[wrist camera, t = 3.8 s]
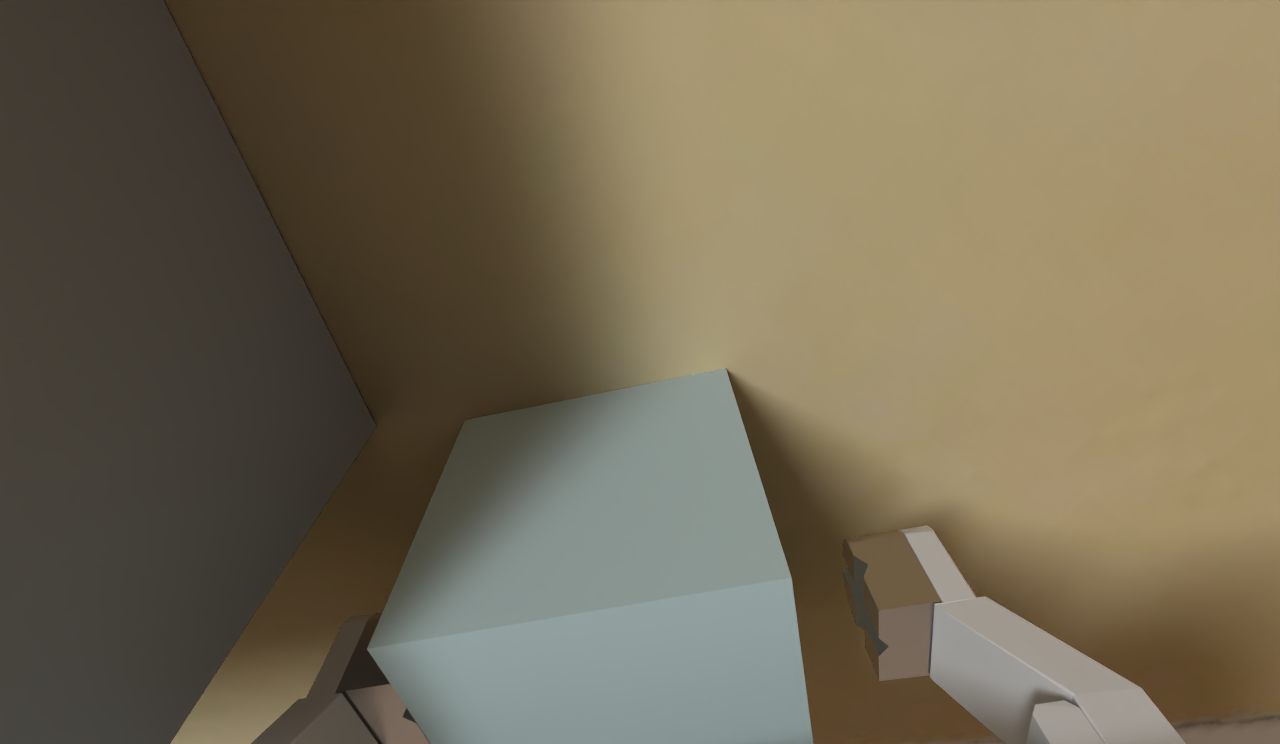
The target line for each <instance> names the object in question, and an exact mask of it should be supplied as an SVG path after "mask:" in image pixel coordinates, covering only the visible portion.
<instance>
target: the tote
mask: <svg viewBox="0 0 1280 744" xmlns="http://www.w3.org/2000/svg"><path fill="white" fill-rule="evenodd" d="M375 428H376V425H375V423H374V421H373V419H372V417H371V415H370V413H369V411H368V409H367V407H366V405H365V403H364V401H363V399H362V397H361V395H360V393H359V391H358V389H357V387H356V385H355V383H354V381H353V379H352V377H351V375H350V373H349V371H348V369H347V367H346V365H345V363H344V361H343V359H342V357H341V355H340V353H339V351H338V349H337V347H336V345H335V343H334V341H333V339H332V337H331V335H330V333H329V331H328V329H327V327H326V325H325V323H324V321H323V319H322V317H321V315H320V313H319V311H318V309H317V307H316V305H315V303H314V301H313V299H312V297H311V295H310V293H309V291H308V289H307V287H306V285H305V283H304V281H303V279H302V277H301V275H300V273H299V271H298V269H297V267H296V265H295V263H294V261H293V259H292V257H291V255H290V253H289V251H288V249H287V247H286V245H285V243H284V241H283V239H282V237H281V235H280V233H279V231H278V229H277V227H276V225H275V223H274V221H273V219H272V217H271V215H270V213H269V211H268V209H267V207H266V205H265V203H264V201H263V199H262V197H261V195H260V193H259V191H258V189H257V187H256V185H255V183H254V181H253V179H252V177H251V175H250V173H249V171H248V169H247V167H246V165H245V163H244V161H243V159H242V157H241V155H240V153H239V151H238V149H237V147H236V145H235V143H234V141H233V139H232V137H231V135H230V133H229V130H228V128H227V126H226V124H225V122H224V120H223V118H222V116H221V114H220V112H219V110H218V108H217V106H216V104H215V102H214V100H213V98H212V96H211V94H210V92H209V90H208V88H207V86H206V84H205V82H204V80H203V78H202V76H201V74H200V72H199V70H198V68H197V66H196V64H195V62H194V60H193V58H192V56H191V54H190V52H189V50H188V48H187V46H186V44H185V42H184V40H183V38H182V36H181V34H180V32H179V30H178V28H177V26H176V24H175V22H174V20H173V18H172V16H171V14H170V12H169V10H168V8H167V6H166V4H165V2H164V0H0V744H170V743H171V741H172V740H173V738H174V737H175V735H176V734H177V732H178V731H179V729H180V728H181V726H182V724H183V723H184V721H185V720H186V718H187V717H188V715H189V714H190V712H191V711H192V709H193V708H194V706H195V705H196V703H197V701H198V700H199V698H200V697H201V695H202V694H203V692H204V691H205V689H206V688H207V686H208V685H209V683H210V681H211V680H212V678H213V677H214V675H215V674H216V672H217V671H218V669H219V668H220V666H221V665H222V663H223V661H224V660H225V658H226V657H227V655H228V654H229V652H230V651H231V649H232V648H233V646H234V645H235V643H236V641H237V640H238V638H239V637H240V635H241V634H242V632H243V631H244V629H245V628H246V626H247V625H248V623H249V621H250V620H251V618H252V617H253V615H254V614H255V612H256V611H257V609H258V608H259V606H260V605H261V603H262V601H263V600H264V598H265V597H266V595H267V594H268V592H269V591H270V589H271V588H272V586H273V585H274V583H275V581H276V580H277V578H278V577H279V575H280V574H281V572H282V571H283V569H284V568H285V566H286V565H287V563H288V561H289V560H290V558H291V557H292V555H293V554H294V552H295V551H296V549H297V548H298V546H299V545H300V543H301V541H302V540H303V538H304V537H305V535H306V534H307V532H308V531H309V529H310V528H311V526H312V525H313V523H314V521H315V520H316V518H317V517H318V515H319V514H320V512H321V511H322V509H323V508H324V506H325V505H326V503H327V501H328V500H329V498H330V497H331V495H332V494H333V492H334V491H335V489H336V488H337V486H338V485H339V483H340V481H341V480H342V478H343V477H344V475H345V474H346V472H347V471H348V469H349V468H350V466H351V465H352V463H353V461H354V460H355V458H356V457H357V455H358V454H359V452H360V451H361V449H362V448H363V446H364V445H365V443H366V442H367V440H368V438H369V437H370V435H371V434H372V432H373V431H374V429H375Z"/></svg>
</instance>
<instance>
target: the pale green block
mask: <svg viewBox="0 0 1280 744" xmlns="http://www.w3.org/2000/svg"><path fill="white" fill-rule="evenodd" d="M367 650H368V651H369V653H370V654H371V656H372V657H373V659H374V660H375V662H376V663H377V665H378V666H379V668H380V669H381V671H382V672H383V674H384V675H385V677H386V678H387V680H388V681H389V682H390V684H391V685H392V687H393V688H394V690H395V691H396V693H397V694H398V696H399V697H400V699H401V700H402V702H403V703H404V705H405V706H406V708H407V709H408V711H409V712H410V713H411V715H412V716H413V718H414V719H415V721H416V722H417V724H418V725H419V727H420V728H421V730H422V731H423V733H424V734H425V736H426V737H427V739H428V740H429V742H430V743H431V744H813V737H812V729H811V722H810V714H809V707H808V699H807V691H806V684H805V676H804V669H803V661H802V653H801V646H800V638H799V631H798V623H797V615H796V608H795V600H794V593H793V585H792V578H791V574H790V571H789V568H788V565H787V562H786V558H785V555H784V552H783V549H782V546H781V543H780V539H779V536H778V533H777V530H776V527H775V523H774V520H773V517H772V514H771V511H770V508H769V504H768V501H767V498H766V495H765V492H764V488H763V485H762V482H761V479H760V476H759V472H758V469H757V466H756V463H755V460H754V457H753V453H752V450H751V447H750V444H749V441H748V437H747V434H746V431H745V428H744V425H743V421H742V418H741V415H740V412H739V409H738V406H737V402H736V399H735V396H734V393H733V390H732V386H731V383H730V380H729V377H728V374H727V371H726V368H724V369H719V370H714V371H709V372H704V373H699V374H694V375H689V376H684V377H679V378H674V379H669V380H664V381H659V382H654V383H649V384H644V385H639V386H634V387H629V388H624V389H619V390H614V391H609V392H604V393H599V394H594V395H589V396H584V397H579V398H574V399H569V400H564V401H559V402H553V403H548V404H543V405H538V406H533V407H528V408H523V409H518V410H513V411H508V412H503V413H498V414H493V415H488V416H483V417H478V418H473V419H468V420H465V421H464V423H463V425H462V428H461V430H460V432H459V435H458V437H457V439H456V442H455V444H454V446H453V449H452V451H451V453H450V456H449V458H448V460H447V463H446V465H445V467H444V470H443V472H442V474H441V477H440V479H439V481H438V484H437V486H436V488H435V491H434V493H433V495H432V498H431V500H430V502H429V505H428V507H427V510H426V512H425V514H424V517H423V519H422V521H421V524H420V526H419V528H418V531H417V533H416V535H415V538H414V540H413V542H412V545H411V547H410V549H409V552H408V554H407V556H406V559H405V561H404V563H403V566H402V568H401V570H400V573H399V575H398V577H397V580H396V582H395V584H394V587H393V589H392V592H391V594H390V596H389V599H388V601H387V603H386V606H385V608H384V610H383V613H382V615H381V617H380V620H379V622H378V624H377V627H376V629H375V631H374V634H373V636H372V638H371V641H370V643H369V645H368V648H367Z"/></svg>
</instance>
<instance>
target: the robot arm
mask: <svg viewBox="0 0 1280 744" xmlns="http://www.w3.org/2000/svg"><path fill="white" fill-rule="evenodd" d="M842 547H843V556H844V559H845V561H846V564H847V566H848V567H847V568H846V569H845V571H844V583H845V589H846V594H847V599H848V603H849V606H850V609H851V612H852V615H853V617H854V620H855V622H856V625H858V626H859V627H861V628H862V629H863V630H864V631H865V648H866V650H867V652H868V655H869V657H870V660H871V662H872V665H873V667H874V670H875V672H876V674H877V677H878V679H879V681H885V680H894V679H902V678H911V677H920V676H929V675H930V679H932V680H933V681H934V682H935V683H936V684H937V685H938V686H940V687H941V688H942V689H943V690H944V691H945V692H946V693H948V694H949V695H950V696H951V697H952V698H953V699H954V700H956V701H957V702H958V703H959V704H960V705H961V706H962V707H964V708H965V709H966V710H967V711H968V712H969V713H970V714H972V715H973V716H974V717H975V718H976V719H977V720H978V721H980V722H981V723H982V724H983V725H984V726H985V727H987V728H988V729H989V730H990V731H991V732H992V733H993V734H995V735H996V736H997V737H998V738H999V739H1000V740H1001V741H1003V742H1004V743H1005V744H1186V743H1185V742H1184V740H1183V739H1182V738H1181V737H1180V735H1179V734H1178V733H1177V732H1176V730H1175V729H1174V728H1173V727H1172V725H1171V724H1170V723H1169V722H1168V720H1167V719H1166V718H1165V717H1164V716H1163V714H1162V713H1161V712H1160V711H1159V709H1158V708H1157V707H1156V706H1155V704H1154V703H1153V702H1152V701H1151V699H1150V698H1149V697H1148V696H1147V694H1146V693H1145V692H1144V691H1143V689H1142V688H1141V687H1139V686H1137V685H1136V684H1134V683H1132V682H1130V681H1129V680H1127V679H1125V678H1124V677H1122V676H1120V675H1119V674H1117V673H1115V672H1113V671H1112V670H1110V669H1108V668H1107V667H1105V666H1103V665H1102V664H1100V663H1098V662H1096V661H1095V660H1093V659H1091V658H1090V657H1088V656H1086V655H1085V654H1083V653H1081V652H1079V651H1078V650H1076V649H1074V648H1073V647H1071V646H1069V645H1068V644H1066V643H1064V642H1062V641H1061V640H1059V639H1057V638H1056V637H1054V636H1052V635H1051V634H1049V633H1047V632H1046V631H1044V630H1042V629H1040V628H1039V627H1037V626H1035V625H1034V624H1032V623H1030V622H1029V621H1027V620H1025V619H1023V618H1022V617H1020V616H1018V615H1017V614H1015V613H1013V612H1012V611H1010V610H1008V609H1006V608H1005V607H1003V606H1001V605H1000V604H998V603H996V602H995V601H993V600H991V599H989V598H988V597H986V596H984V597H976V595H975V594H974V592H973V591H972V589H971V588H970V586H969V585H968V583H967V581H966V580H965V578H964V577H963V575H962V574H961V572H960V571H959V569H958V567H957V566H956V564H955V563H954V561H953V560H952V558H951V557H950V555H949V554H948V552H947V550H946V549H945V547H944V546H943V544H942V543H941V541H940V540H939V538H938V537H937V535H936V533H935V532H934V530H933V529H932V528H930V527H929V526H928V525H926V526H920V527H914V528H908V529H902V530H899V531H897V530H895V531H889V532H883V533H877V534H872V535H866V536H860V537H854V538H848V539H844V540H843V544H842ZM381 615H382V613H376V614H371V615H364V616H357V617H350V618H349V619H348V620H347V621H346V622H345V623H343V625H342V626H341V628H340V630H339V633H338V635H337V637H336V639H335V641H334V643H333V645H332V647H331V649H330V651H329V653H328V655H327V657H326V659H325V661H324V663H323V665H322V667H321V669H320V671H319V673H318V675H317V677H316V679H315V681H314V683H313V685H312V687H311V689H310V691H309V693H308V695H307V697H306V698H304V699H299V700H297V701H296V702H295V703H294V704H293V705H292V706H291V707H290V708H289V709H288V710H287V711H286V712H285V713H283V714H282V715H281V716H280V717H279V718H278V719H277V720H276V721H275V722H274V723H273V724H272V725H271V726H269V727H268V728H267V729H266V730H265V731H264V732H263V733H262V734H261V735H260V736H259V737H258V738H257V739H256V740H254V741H253V742H252V743H251V744H431V743H430V742H429V740H428V739H427V737H426V736H425V734H424V733H423V731H422V730H421V728H420V727H419V725H418V724H417V722H416V721H415V719H414V718H413V716H412V715H411V713H410V712H409V711H408V709H407V708H406V706H405V705H404V703H403V702H402V700H401V699H400V697H399V696H398V694H397V693H396V691H395V690H394V688H393V687H392V685H391V684H390V682H389V681H388V680H387V678H386V677H385V675H384V674H383V672H382V671H381V669H380V668H379V666H378V665H377V663H376V662H375V660H374V659H373V657H372V656H371V654H370V653H369V651H368V650H367V648H368V645H369V643H370V641H371V638H372V636H373V634H374V631H375V629H376V627H377V624H378V622H379V620H380V617H381Z"/></svg>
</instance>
